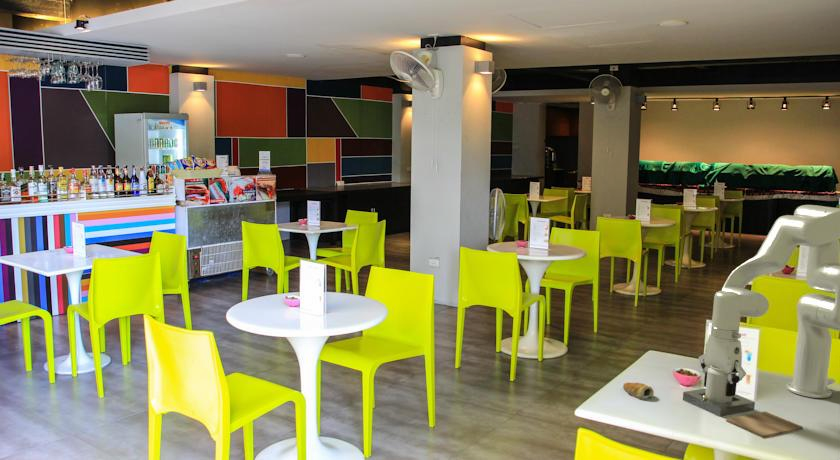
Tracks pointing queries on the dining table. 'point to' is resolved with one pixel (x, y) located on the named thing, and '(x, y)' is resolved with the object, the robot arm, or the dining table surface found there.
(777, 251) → the robot arm
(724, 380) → the can
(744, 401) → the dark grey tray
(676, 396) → the dining table surface
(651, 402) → the dining table surface
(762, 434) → the mat
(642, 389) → the pastry
